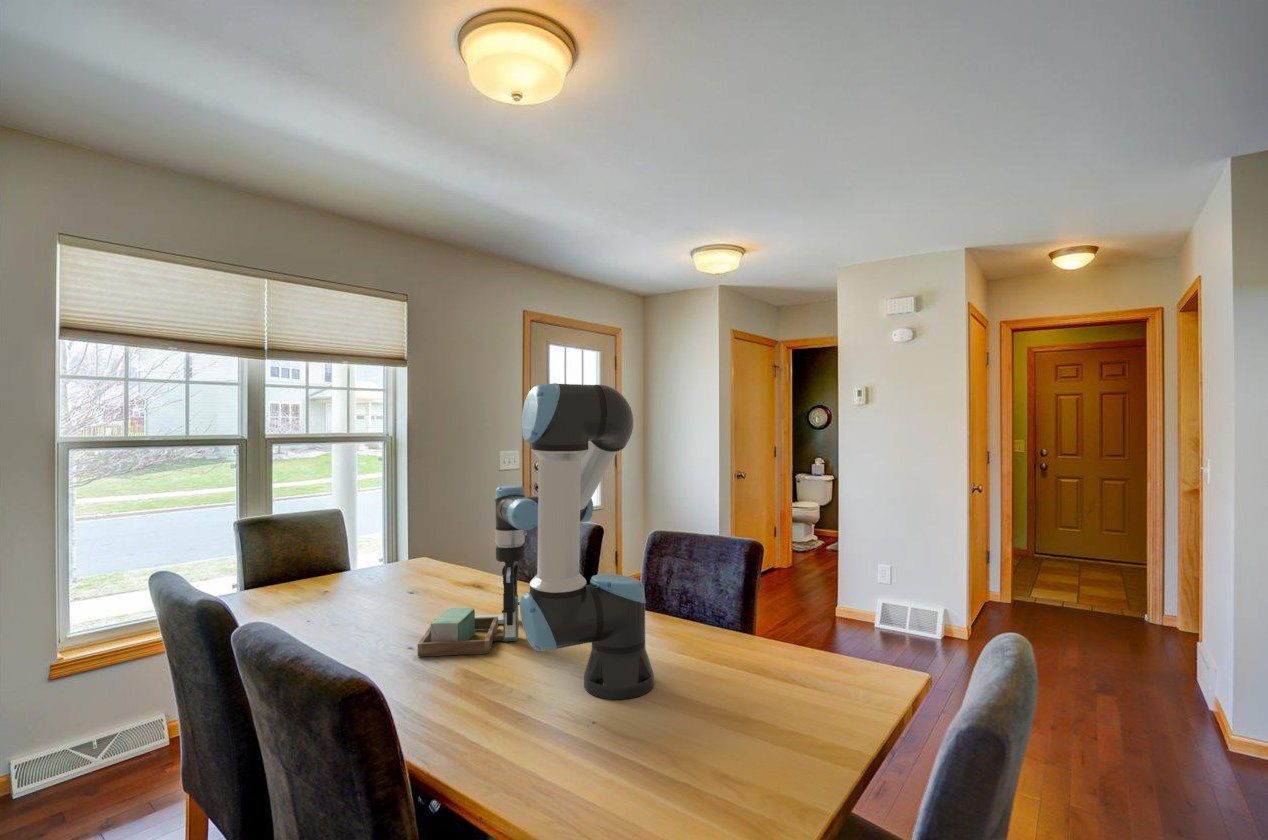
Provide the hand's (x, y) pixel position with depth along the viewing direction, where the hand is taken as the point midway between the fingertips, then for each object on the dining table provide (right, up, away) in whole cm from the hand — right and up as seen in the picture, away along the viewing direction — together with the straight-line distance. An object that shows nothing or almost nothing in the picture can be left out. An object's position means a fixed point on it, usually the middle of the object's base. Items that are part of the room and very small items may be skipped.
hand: (511, 633), depth 160 cm
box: (-15, -2, -2) cm, 15 cm away
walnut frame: (-10, -1, -1) cm, 10 cm away
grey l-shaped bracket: (-12, -2, +14) cm, 19 cm away
